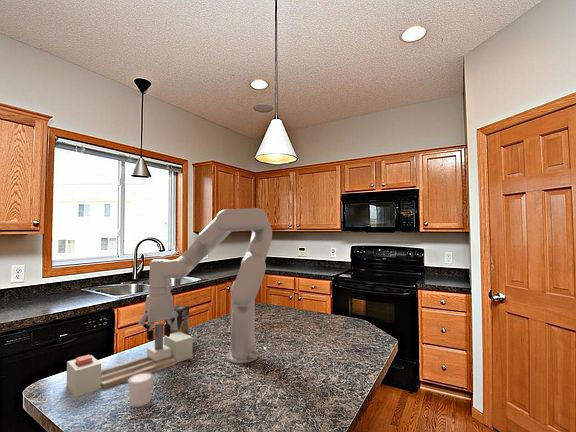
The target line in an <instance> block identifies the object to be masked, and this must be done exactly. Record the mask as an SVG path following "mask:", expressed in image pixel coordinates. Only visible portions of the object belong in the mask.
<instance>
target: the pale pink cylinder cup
mask: <svg viewBox="0 0 576 432" xmlns="http://www.w3.org/2000/svg"><path fill="white" fill-rule="evenodd" d="M127 382H128V395H129V404H130V406H131V407H136V408H137V407H142V406H146V405H147V404H148V403H149V402H151V400H152V399H151V398H152V392H153V391H152V390H153V382H154V374H153V373H139V374H136V375H133V376H131V377H130V378H129V380H128V381H127Z"/></svg>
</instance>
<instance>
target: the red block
mask: <svg viewBox="0 0 576 432" xmlns="http://www.w3.org/2000/svg"><path fill="white" fill-rule="evenodd" d="M90 355H91V354H87V355H82V356H78V357H75V359H76V365H77V366H78V367H79V366H82V365H86V364H89V363H92V357H91V356H90Z"/></svg>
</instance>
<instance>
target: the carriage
mask: <svg viewBox="0 0 576 432" xmlns="http://www.w3.org/2000/svg"><path fill="white" fill-rule="evenodd" d="M146 356H148V357H149V358H151V359H153V360H154V361H157V360H160V359H163V358H166V357H169V356H171V348H169V347H167V346H165V345H164V323H161V322H160V323H159V322H158V323H156V324H155V323H154V345H152V346H150V347H147V348H146Z"/></svg>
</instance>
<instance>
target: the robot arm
mask: <svg viewBox="0 0 576 432" xmlns="http://www.w3.org/2000/svg"><path fill="white" fill-rule="evenodd" d="M239 231H240V232H241V231H251V236H250V239H249V243H248V246H247V248H246V251H245V253H244V256H243V258H242V259H241V263H240V267H239V270H238V272H237V275H236V278H235V280H234V281H233V283H231V287H230V351H228V352H227V353H226V360H227V361H228V362H230V363H233V364H246V363H251V362H254V361H256V360H257V359H258V358H259V356H260V355H261V354H260V352H259V351H257V346H255V323H256V322H255V316H256V315H255V312H256V311H255V310H256V309H255V308H256V307H255V305H256V304H255V300H256V297H257V295H258V292H259V291H260V287H261V285H262V282H263V279H264V276H265V273H266V269H267V267H266V266H267V265H266V259H267V256H268V253H269V250H270V247H271V243H272V238H273V229H272V226H271V222H270V221H269V220H268V215H267V213H266V211H264V210H263V208H262V209H261V208H260V207H259V208H257V207H250V208H234V209H233V208H229V209H228V208H225V209H222V210H220V211H219V212H218V213H217V214H216V217H214V219H213V220H212V221H211V222H210V223H209V224H208V225H207V226H205V227H204V229H202V231H201V232H199V233H198V234H197V236H196V237H195V240H194V241H193V242H192V243H191V245H190V246H189V247H188V248H187V249H186V250H185V251H184V252H183V253H182V254H181V255H180V256H179V257H178V258H176V259H172V260H171V259H170V260H169V259H168V258H156V259H152V260H150V262H149V277H148V278H149V281H148V283H149V288H148V289H149V291H148V295H146V298H145V301H144V309H143V315H142V317H141V318H140V319H139V321H138V324H139V325H140V326H142V327H143V328H144V329H145V330H146V339H147V340H148V341H149V342H153V341H154V330H153V328H154V326H155V323H157V322H158V323H159V322H162V321H164V324H165V325H163V336H167V337H169V336H170V333H171V325H172V323H173V322H174V320H175V319H176V318H177V316H178V313H177V312H176V311H175V310H174V309H173V307H174V299H173V295H172V292H171V291H172V290H174V286H171V279H177V280H178V279H184V278H185V277H186V276H188V274H190V272H191V271H192V270H194V269H195V267H196V266H198V265H199V264H200V263H201V262H202V261H203V260H204V258H206V257H207V256H208V255H209V254H210V253H212V252H213V251H214V250H215V249H216V248H217V247H218V246H219V245H220V244H221V243H222V242H223V241H224V240H225V239H226V237H228V236H229V235H230V233H232V232H239ZM146 322H147V323H146Z"/></svg>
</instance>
